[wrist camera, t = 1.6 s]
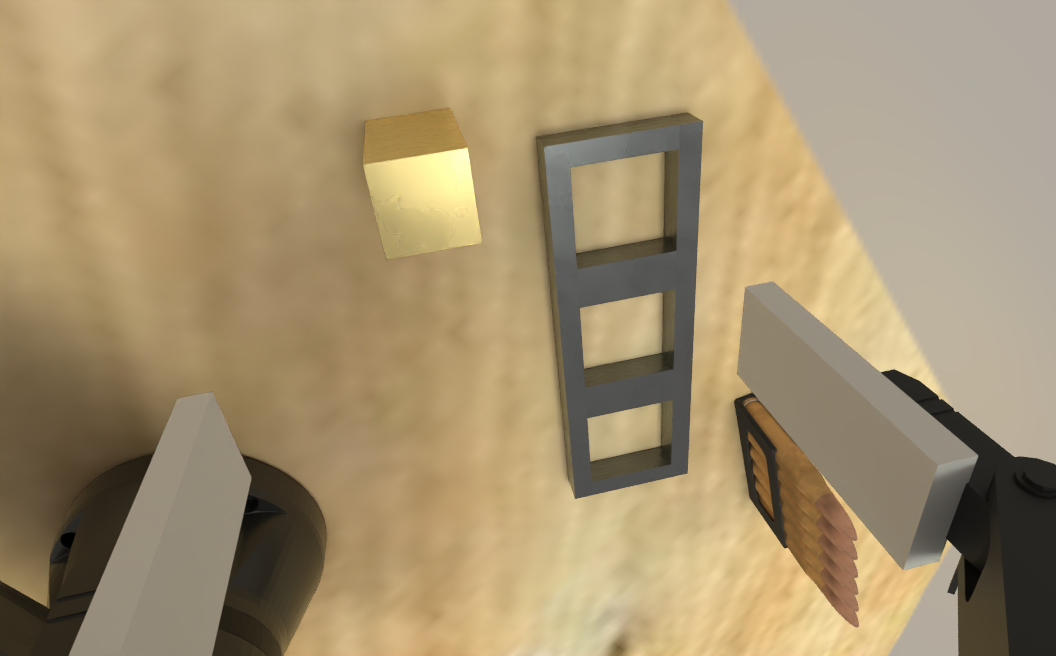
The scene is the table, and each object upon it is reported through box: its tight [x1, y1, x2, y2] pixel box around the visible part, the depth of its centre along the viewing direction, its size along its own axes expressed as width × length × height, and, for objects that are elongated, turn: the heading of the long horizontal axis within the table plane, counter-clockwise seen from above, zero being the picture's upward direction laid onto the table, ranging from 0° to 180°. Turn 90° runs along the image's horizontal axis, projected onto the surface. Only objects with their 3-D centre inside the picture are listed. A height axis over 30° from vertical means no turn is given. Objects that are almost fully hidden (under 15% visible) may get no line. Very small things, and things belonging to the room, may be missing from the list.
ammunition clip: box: [734, 393, 859, 627], centre depth 42 cm, size 11×2×12 cm, turn 17°
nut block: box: [363, 108, 482, 260], centre depth 28 cm, size 4×4×7 cm
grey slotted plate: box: [536, 113, 703, 499], centre depth 38 cm, size 8×24×2 cm, turn 6°
